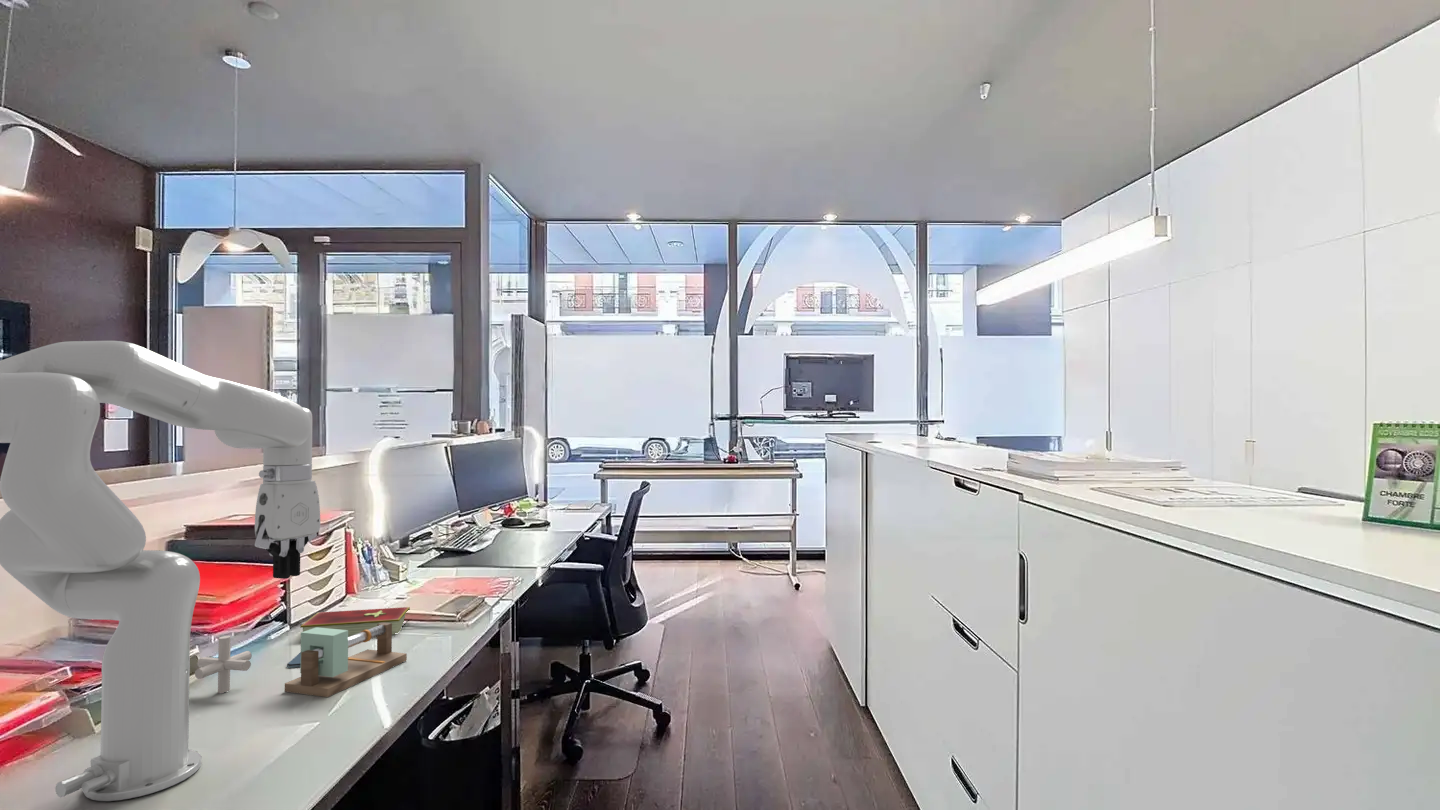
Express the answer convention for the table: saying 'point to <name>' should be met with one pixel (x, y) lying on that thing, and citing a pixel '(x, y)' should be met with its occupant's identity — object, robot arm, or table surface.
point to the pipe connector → (223, 664)
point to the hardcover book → (357, 619)
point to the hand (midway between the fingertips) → (286, 576)
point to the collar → (328, 649)
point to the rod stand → (358, 664)
